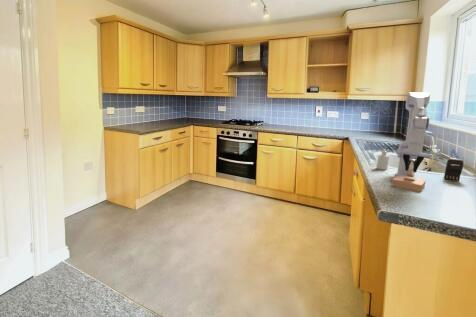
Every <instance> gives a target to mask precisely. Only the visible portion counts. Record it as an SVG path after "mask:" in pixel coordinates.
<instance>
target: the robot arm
mask: <svg viewBox="0 0 476 317" xmlns="http://www.w3.org/2000/svg"><path fill="white" fill-rule="evenodd" d="M430 98H431V94H430V93H429V92H411V91H409V92H408V93H407V95H406V99H405V105H404V106H405V109H406V110H407V111H408V112H409V114H408V115H409V116H408V122H407V129H406V136H405V141H402V142H401V143H400V144H399V145H398V149H396V150H395V151H396V153H395V155H397V156H396V157H397V158H398V159H399V160H398V161H399V162H398V166H397V167H398V168H397V172H396V173H395V174H394V175H395V176H397V175H403V176H406V175H407V169H408V164H409V159H414V160H416V166H415V170H414V176H415V173H417V171H418V168H419V167H420V165H421V163H423V160H424V159H428V160H433V156H434V154H432V153H431V154H430V153H426V152H423V147H424V143H425V142H424V141H425V137H426V131H427V130H428V129H429V125H430V118H429V116H428V114H427V113H428V112H427V107H428V105H429V103H430Z"/></svg>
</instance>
